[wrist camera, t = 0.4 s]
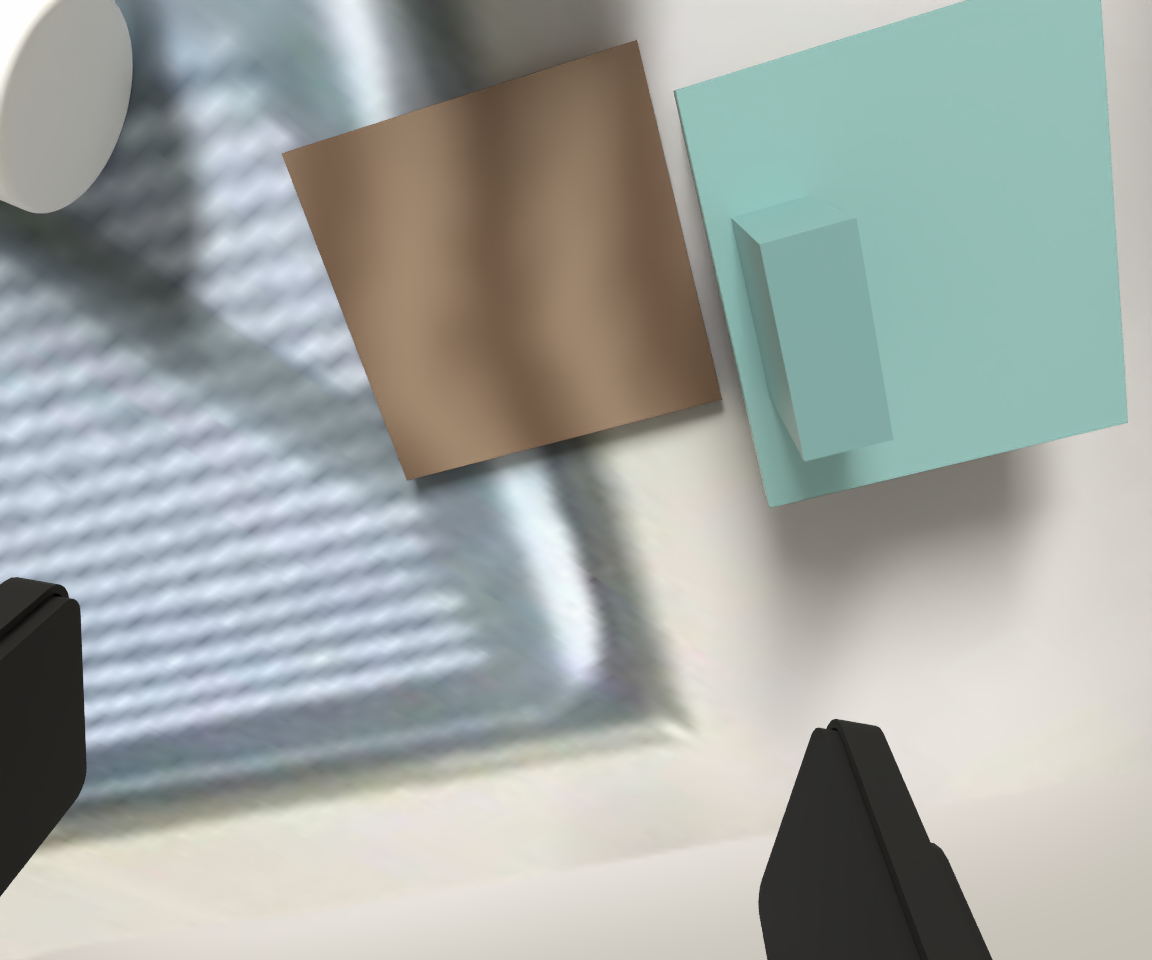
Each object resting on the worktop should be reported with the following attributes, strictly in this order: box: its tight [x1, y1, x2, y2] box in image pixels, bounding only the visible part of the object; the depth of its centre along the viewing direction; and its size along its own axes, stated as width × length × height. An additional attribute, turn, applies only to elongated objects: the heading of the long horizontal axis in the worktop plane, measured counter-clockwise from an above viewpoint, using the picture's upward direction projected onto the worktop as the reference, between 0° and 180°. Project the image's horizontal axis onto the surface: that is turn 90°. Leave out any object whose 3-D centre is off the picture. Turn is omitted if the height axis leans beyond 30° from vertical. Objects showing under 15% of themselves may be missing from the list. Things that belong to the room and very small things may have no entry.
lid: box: [673, 0, 1128, 508], centre depth 27 cm, size 12×14×8 cm
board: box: [282, 40, 722, 480], centre depth 36 cm, size 14×14×1 cm
